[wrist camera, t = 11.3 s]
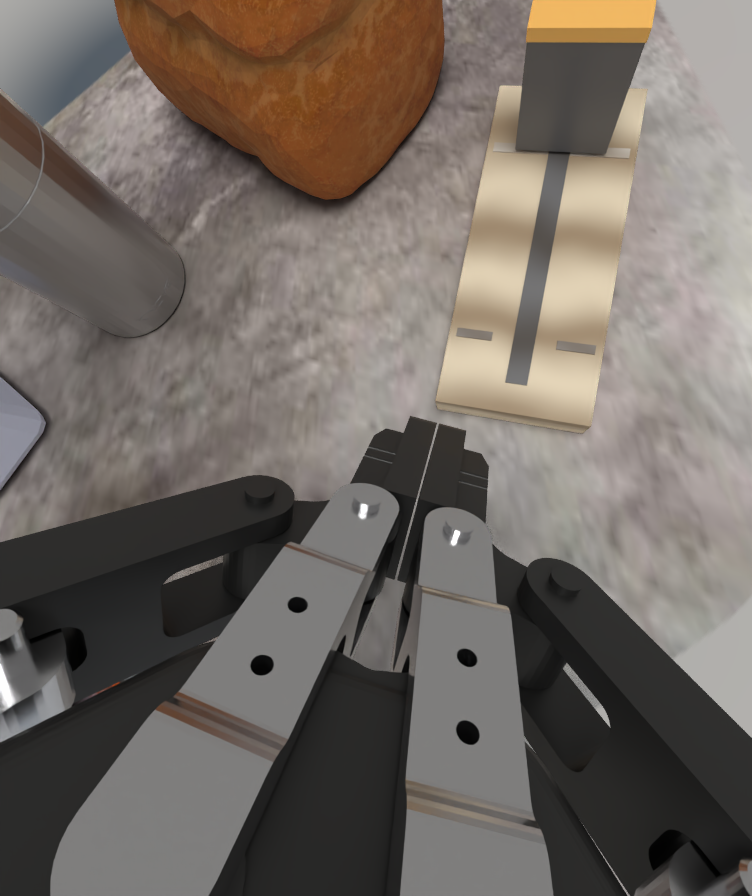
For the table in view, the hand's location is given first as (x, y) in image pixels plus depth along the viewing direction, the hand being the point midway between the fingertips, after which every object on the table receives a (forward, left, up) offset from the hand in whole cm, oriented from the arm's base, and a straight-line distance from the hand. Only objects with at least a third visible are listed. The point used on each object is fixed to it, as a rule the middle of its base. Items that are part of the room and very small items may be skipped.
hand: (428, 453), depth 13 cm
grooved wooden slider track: (-5, +17, -22) cm, 29 cm away
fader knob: (-9, +25, -19) cm, 33 cm away
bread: (-30, +20, -23) cm, 43 cm away
